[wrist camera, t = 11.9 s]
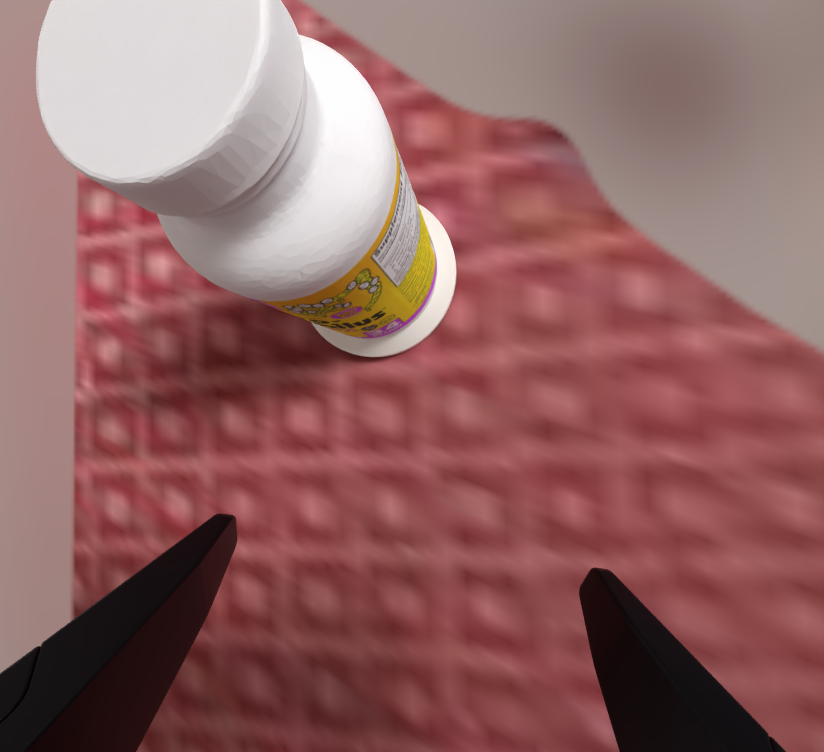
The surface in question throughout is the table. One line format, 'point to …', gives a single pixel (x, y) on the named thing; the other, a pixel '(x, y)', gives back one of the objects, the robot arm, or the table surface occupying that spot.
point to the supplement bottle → (242, 153)
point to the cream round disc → (426, 320)
